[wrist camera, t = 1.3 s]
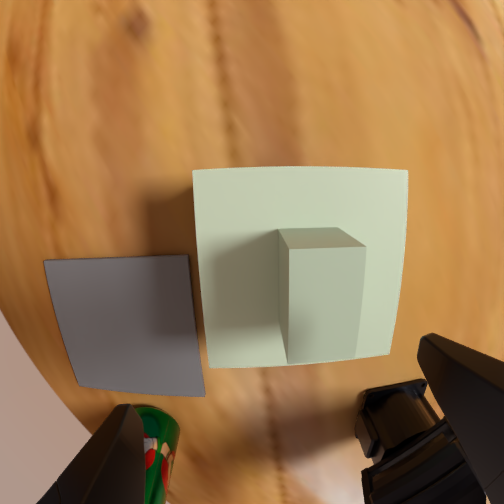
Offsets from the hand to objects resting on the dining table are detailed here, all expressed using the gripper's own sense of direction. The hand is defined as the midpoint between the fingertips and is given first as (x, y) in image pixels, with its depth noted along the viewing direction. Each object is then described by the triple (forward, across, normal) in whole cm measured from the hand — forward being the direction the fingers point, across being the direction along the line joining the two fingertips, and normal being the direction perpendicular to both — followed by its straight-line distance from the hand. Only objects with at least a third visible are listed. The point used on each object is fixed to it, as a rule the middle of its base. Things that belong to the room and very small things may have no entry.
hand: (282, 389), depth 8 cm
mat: (+13, +10, +6) cm, 18 cm away
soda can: (+12, +11, +16) cm, 23 cm away
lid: (+8, -3, +1) cm, 9 cm away
